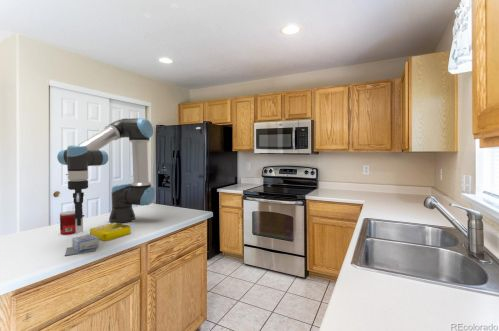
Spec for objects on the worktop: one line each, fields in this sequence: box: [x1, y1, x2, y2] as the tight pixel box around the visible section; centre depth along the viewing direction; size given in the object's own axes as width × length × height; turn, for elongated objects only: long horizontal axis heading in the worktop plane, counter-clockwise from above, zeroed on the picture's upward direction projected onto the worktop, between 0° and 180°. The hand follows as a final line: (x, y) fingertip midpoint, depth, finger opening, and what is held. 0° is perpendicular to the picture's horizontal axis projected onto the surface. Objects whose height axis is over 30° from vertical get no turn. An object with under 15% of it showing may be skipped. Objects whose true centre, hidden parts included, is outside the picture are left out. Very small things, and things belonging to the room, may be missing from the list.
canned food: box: [59, 210, 77, 236], centre depth 137 cm, size 8×8×11 cm
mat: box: [64, 246, 96, 257], centre depth 113 cm, size 11×10×1 cm
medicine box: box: [71, 233, 99, 252], centre depth 115 cm, size 8×4×9 cm
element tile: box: [89, 223, 132, 242], centre depth 134 cm, size 15×15×5 cm
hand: (79, 232), depth 114 cm, fingers closed
